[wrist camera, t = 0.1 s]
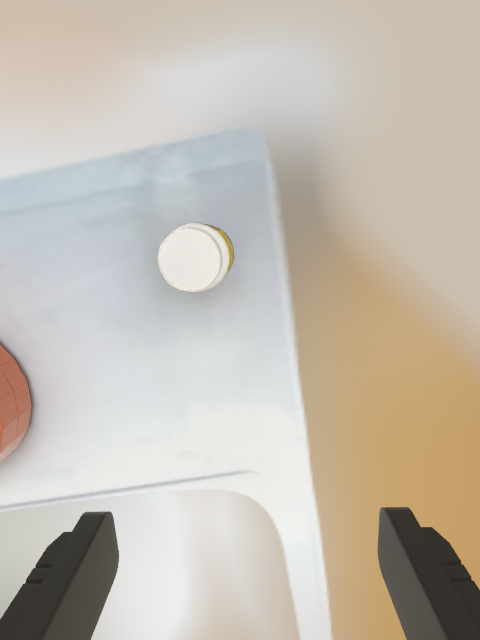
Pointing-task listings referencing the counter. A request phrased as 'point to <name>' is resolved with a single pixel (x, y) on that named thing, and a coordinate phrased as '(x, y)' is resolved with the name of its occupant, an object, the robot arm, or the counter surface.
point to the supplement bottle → (195, 257)
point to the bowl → (12, 404)
